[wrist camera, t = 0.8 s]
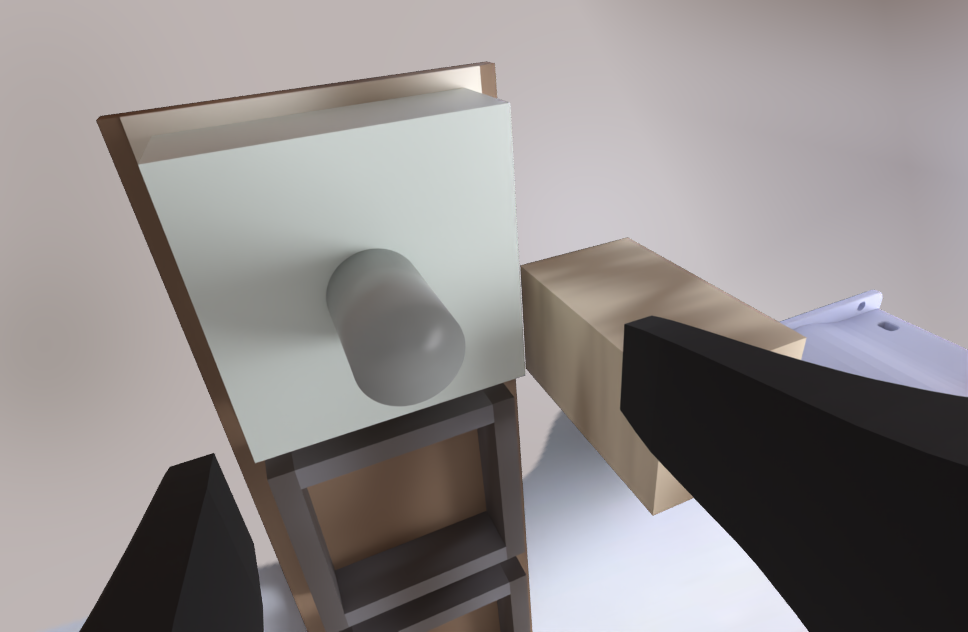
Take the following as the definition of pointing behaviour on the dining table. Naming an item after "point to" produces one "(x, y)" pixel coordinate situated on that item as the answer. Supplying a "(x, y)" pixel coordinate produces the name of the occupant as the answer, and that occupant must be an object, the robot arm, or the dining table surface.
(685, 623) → the dining table surface
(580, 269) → the maple peg
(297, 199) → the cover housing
